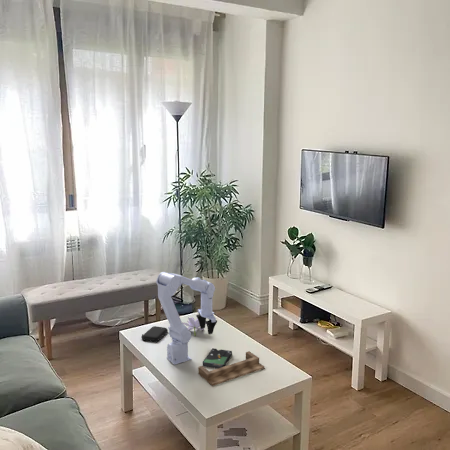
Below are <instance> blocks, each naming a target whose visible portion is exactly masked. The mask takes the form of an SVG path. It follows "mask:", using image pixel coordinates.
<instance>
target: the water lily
mask: <svg viewBox="0 0 450 450" xmlns="http://www.w3.org/2000/svg"><path fill="white" fill-rule="evenodd" d="M182 323H183V324H184V325H185V326H186V327H187V329H188V330H189V331H192V330H193V329H194V331H193V332H194V333H193V336H194V337H196V336H197V334H196V330H197V331H205V328H203V329H201V328H200V324H199V321H198V318H197V317H196V319H195V318H194V317H193V316H191V317H188V318H187V321H186V322H182ZM205 325H207V324H206V323H205Z"/></svg>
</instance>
